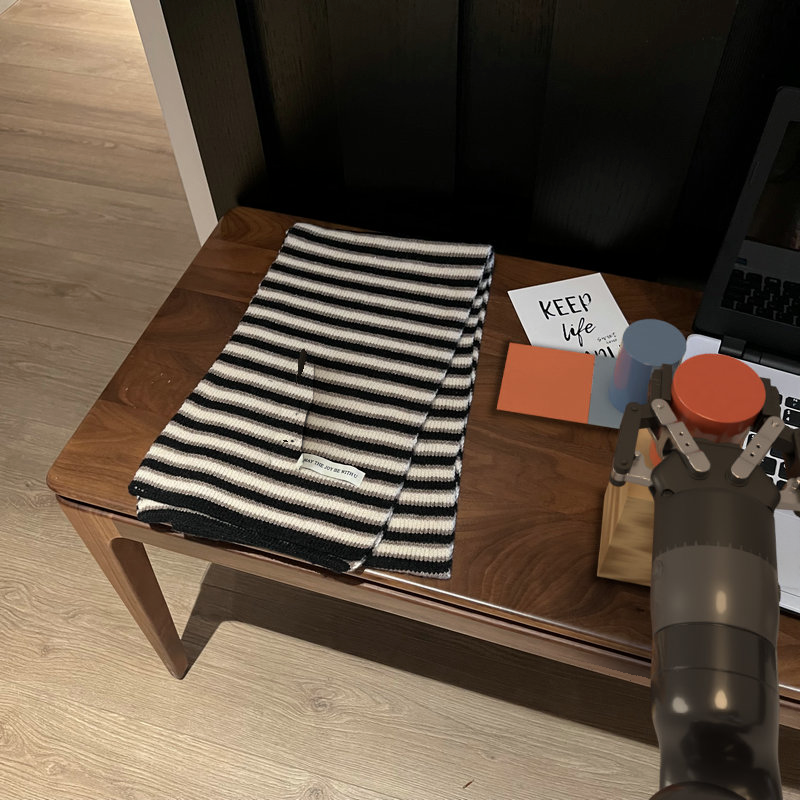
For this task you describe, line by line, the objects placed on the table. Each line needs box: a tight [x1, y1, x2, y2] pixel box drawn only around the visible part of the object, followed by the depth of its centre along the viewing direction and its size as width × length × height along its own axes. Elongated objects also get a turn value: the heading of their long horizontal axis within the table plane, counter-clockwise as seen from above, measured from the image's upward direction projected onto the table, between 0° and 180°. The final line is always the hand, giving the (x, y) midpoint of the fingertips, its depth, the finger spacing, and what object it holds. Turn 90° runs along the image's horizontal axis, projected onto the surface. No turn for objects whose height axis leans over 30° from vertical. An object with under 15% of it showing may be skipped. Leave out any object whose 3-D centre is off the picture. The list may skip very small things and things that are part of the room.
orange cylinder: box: [649, 352, 766, 466], centre depth 60 cm, size 6×6×9 cm
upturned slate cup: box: [608, 318, 688, 414], centre depth 83 cm, size 6×6×9 cm
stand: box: [596, 428, 744, 587], centre depth 70 cm, size 9×9×16 cm
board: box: [496, 342, 623, 430], centre depth 88 cm, size 20×10×1 cm, turn 77°
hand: (712, 377), depth 59 cm, fingers closed on orange cylinder, 6 cm apart
